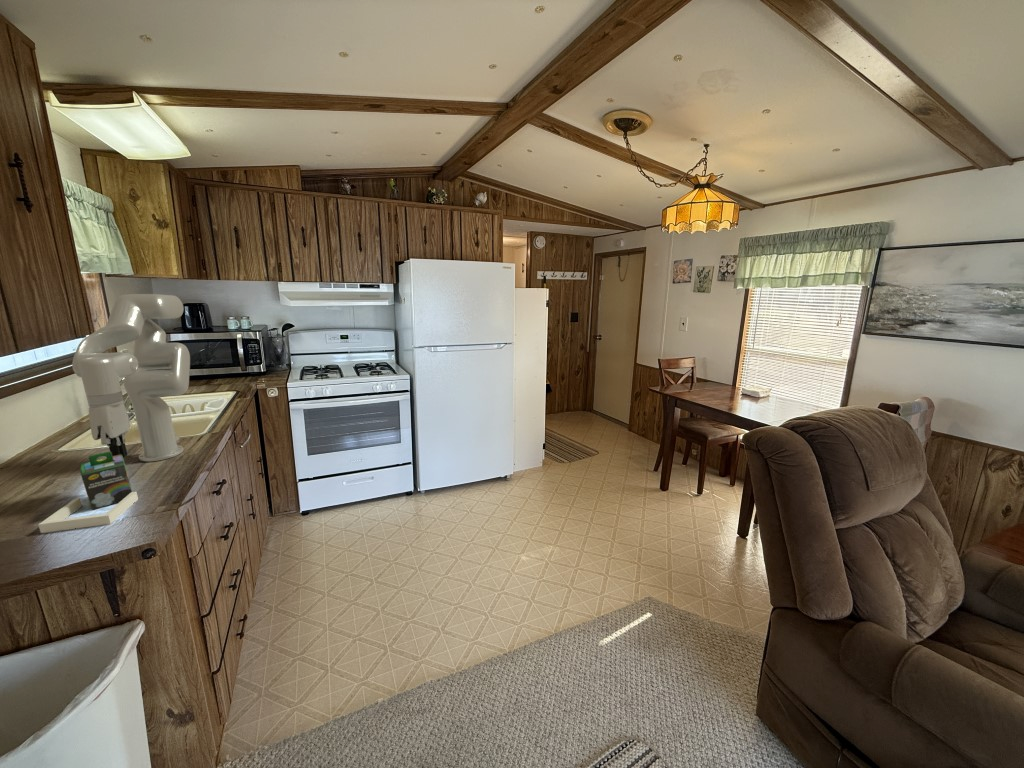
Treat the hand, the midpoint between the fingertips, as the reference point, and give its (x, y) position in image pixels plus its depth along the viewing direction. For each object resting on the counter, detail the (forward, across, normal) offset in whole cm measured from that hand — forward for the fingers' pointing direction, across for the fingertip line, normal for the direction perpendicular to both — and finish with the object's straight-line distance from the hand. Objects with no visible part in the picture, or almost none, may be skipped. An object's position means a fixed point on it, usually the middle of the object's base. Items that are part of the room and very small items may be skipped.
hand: (119, 456), depth 125 cm
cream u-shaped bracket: (+10, +16, 0) cm, 19 cm away
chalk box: (+10, +7, 0) cm, 13 cm away
